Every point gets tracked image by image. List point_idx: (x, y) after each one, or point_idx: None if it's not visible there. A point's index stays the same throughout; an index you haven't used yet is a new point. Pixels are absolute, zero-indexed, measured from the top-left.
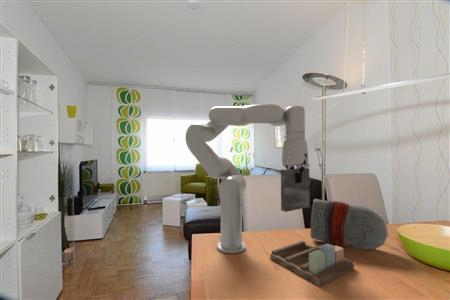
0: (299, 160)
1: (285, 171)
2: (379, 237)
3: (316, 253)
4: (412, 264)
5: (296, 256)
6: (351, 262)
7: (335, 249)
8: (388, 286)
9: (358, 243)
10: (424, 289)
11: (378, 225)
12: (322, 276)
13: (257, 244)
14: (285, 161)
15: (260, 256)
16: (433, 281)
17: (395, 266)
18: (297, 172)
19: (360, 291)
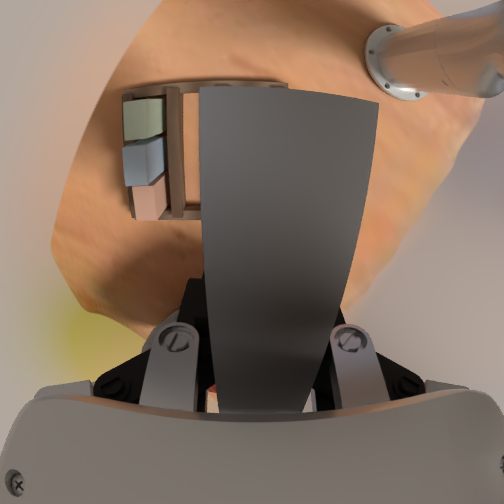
0: (13, 454)
1: (212, 90)
2: (153, 337)
3: (134, 116)
4: (113, 309)
5: None
6: (131, 211)
7: (140, 196)
8: (80, 206)
9: None
10: (62, 244)
11: None
12: (122, 99)
13: None
14: (444, 442)
15: (313, 74)
16: (72, 277)
17: (117, 284)
18: (187, 334)
19: (87, 148)
